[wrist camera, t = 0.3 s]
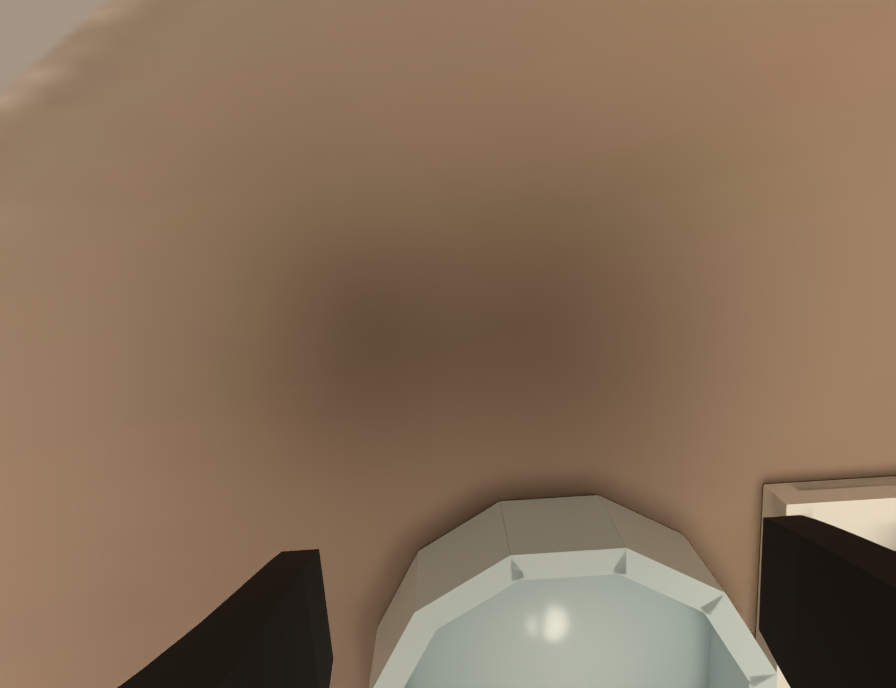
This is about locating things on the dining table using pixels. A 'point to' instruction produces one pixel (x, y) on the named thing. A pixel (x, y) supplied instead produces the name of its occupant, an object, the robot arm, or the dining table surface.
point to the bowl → (564, 607)
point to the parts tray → (833, 517)
